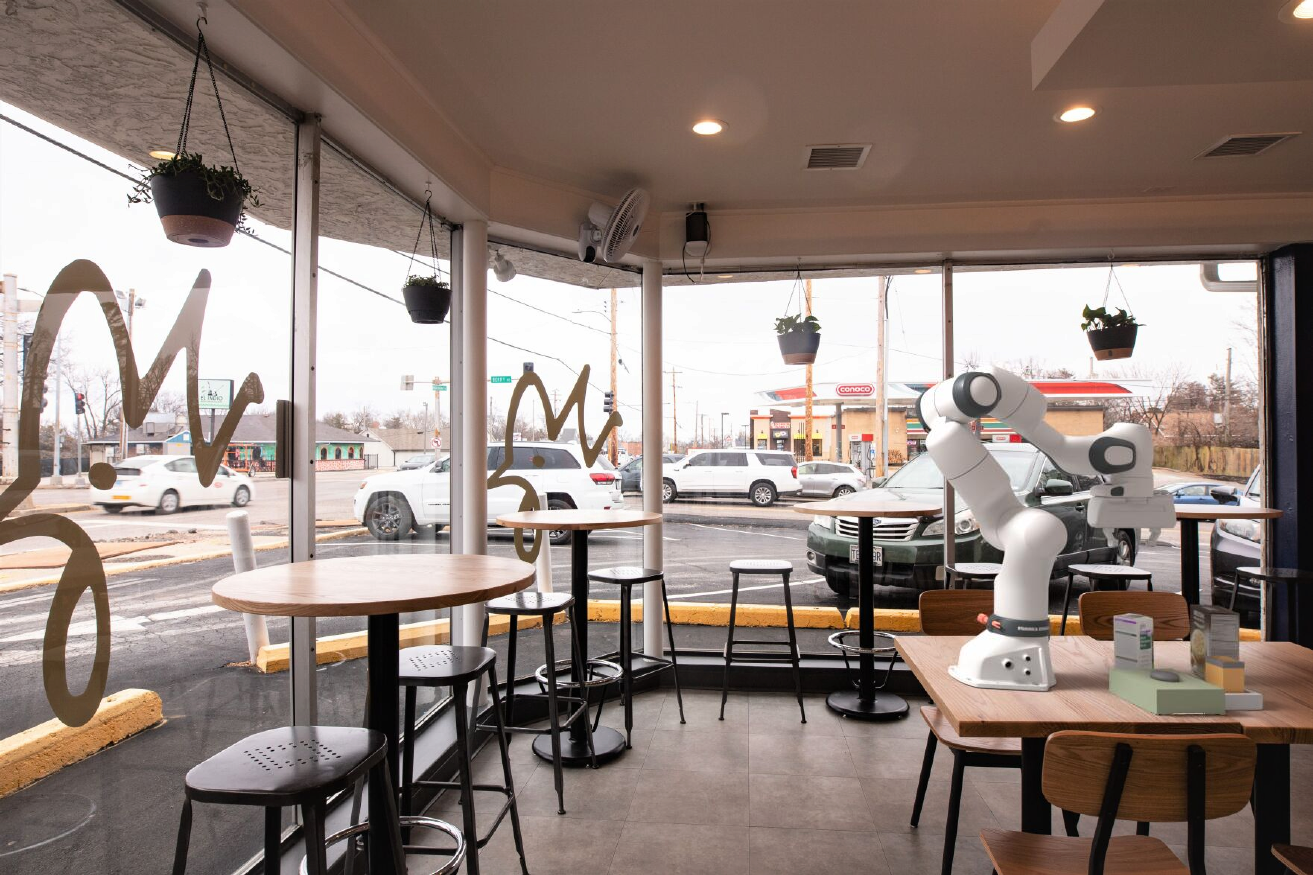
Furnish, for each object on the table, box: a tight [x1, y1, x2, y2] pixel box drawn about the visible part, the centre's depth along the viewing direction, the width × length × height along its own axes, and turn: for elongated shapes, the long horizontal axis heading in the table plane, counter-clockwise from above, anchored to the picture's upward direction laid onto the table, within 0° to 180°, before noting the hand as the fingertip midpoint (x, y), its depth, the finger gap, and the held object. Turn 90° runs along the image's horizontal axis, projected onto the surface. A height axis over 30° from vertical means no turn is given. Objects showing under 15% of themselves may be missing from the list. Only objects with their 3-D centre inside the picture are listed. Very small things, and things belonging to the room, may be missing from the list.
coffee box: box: [1189, 604, 1240, 681], centre depth 171 cm, size 9×6×16 cm
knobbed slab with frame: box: [1108, 668, 1264, 716], centre depth 153 cm, size 24×14×6 cm, turn 93°
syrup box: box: [1113, 613, 1155, 669], centre depth 169 cm, size 6×6×14 cm
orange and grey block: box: [1205, 656, 1246, 693], centre depth 153 cm, size 5×5×9 cm
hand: (1131, 546), depth 179 cm, fingers open, 8 cm apart
